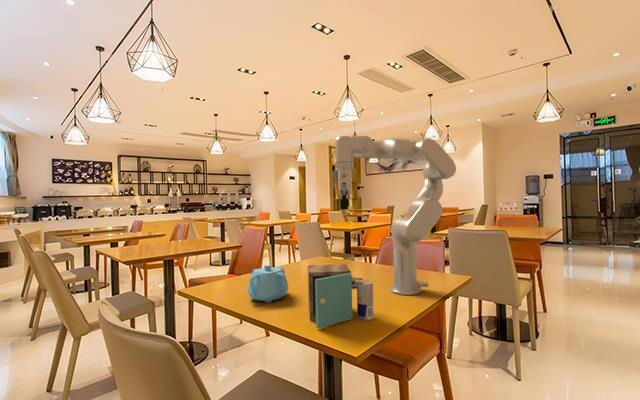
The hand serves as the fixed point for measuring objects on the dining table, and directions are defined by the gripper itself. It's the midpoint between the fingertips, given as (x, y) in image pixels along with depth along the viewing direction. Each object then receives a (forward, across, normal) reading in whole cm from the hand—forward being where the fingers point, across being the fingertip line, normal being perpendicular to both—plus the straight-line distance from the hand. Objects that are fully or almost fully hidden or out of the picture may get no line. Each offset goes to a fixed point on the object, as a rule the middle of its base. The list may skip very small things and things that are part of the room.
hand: (344, 208), depth 134 cm
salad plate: (+36, +19, +2) cm, 41 cm away
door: (+36, -30, +2) cm, 47 cm away
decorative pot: (+37, -2, +31) cm, 48 cm away
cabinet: (+36, -20, +5) cm, 41 cm away
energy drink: (+36, -23, -7) cm, 44 cm away
